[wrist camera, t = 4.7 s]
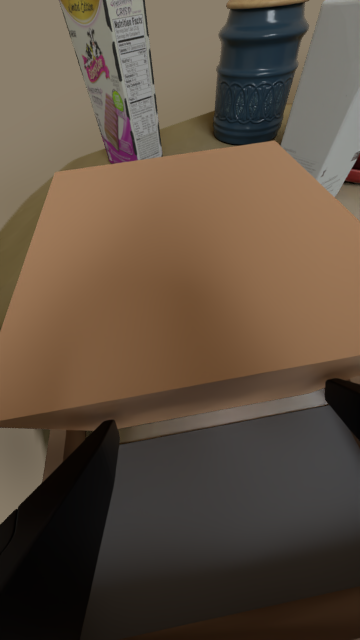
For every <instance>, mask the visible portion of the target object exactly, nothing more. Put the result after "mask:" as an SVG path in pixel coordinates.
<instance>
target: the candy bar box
mask: <svg viewBox="0 0 360 640" xmlns="http://www.w3.org/2000/svg"><path fill="white" fill-rule="evenodd" d="M59 2H60V5H61V8H62V11H63V14H64V18H65V21H66V24H67V28H68V31H69V34H70V37H71V40H72V43H73V47H74V49H75V53H76V56H77V59H78V63H79V66H80V69H81V72H82V75H83V78H84V81H85V85H86V88H87V90H88V94H89V97H90V100H91V103H92V107H93V110H94V113H95V116H96V119H97V122H98V126H99V129H100V132H101V135H102V138H103V142H104V145H105V148H106V152H107V155H108V158H109V161H110V163H112V164H116V163H122V162H129V161H136V160H143V159H150V158H157V157H163V156H162V148H161V139H160V130H159V122H158V112H157V105H156V95H155V86H154V78H153V69H152V62H151V52H150V43H149V34H148V27H147V16H146V8H145V0H59Z"/></svg>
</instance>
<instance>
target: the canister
mask: <svg viewBox="0 0 360 640" xmlns="http://www.w3.org/2000/svg"><path fill="white" fill-rule="evenodd" d="M306 1H309V0H229V1H228V3H227V5H226V7H227V8H228V9H230V12H229V16H228V19H227V22H226V24H225V26H224V27H223V28H222V30H220V32H219V38H220V41H221V44H222V47H221V56H220V62H219V65H218V66H217V69H216V71H217V86H216V101H215V114H214V118H213V120H214V122H213V128H214V136H215V137H216V138H217V139H219V140H220V141H223V142H226V143H230V144H236V145H248V144H255V143H261V142H267V141H269V140H271V139H273V138H274V137H275V136H276V135H277V133H278V130H279V128H280V126H281V124H282V120H283V113H284V110H285V106H286V102H287V98H288V95H289V92H290V88H291V85H292V81H293V77H294V74H295V71H296V69H297V67H298V61H297V56H298V51H299V47H300V42H301V39H302V37H303V36H304V35H305V33H306V32H307V31H308V29H309V25H308V23H307V21H306V19H305V17H304V7H305V2H306Z"/></svg>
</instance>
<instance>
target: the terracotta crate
mask: <svg viewBox="0 0 360 640" xmlns="http://www.w3.org/2000/svg"><path fill="white" fill-rule="evenodd" d="M357 376H360V221H359V220H358V219H357V218H356V217H355V216H354V215H353V214H351V213H350V212H349V211H348V210H347V209H346V208H345V207H344V206H343V205H342V204H341V203H340V202H339V201H338V200H337V199H336V198H335V197H334V196H333V195H332V194H330V193H329V192H328V191H327V190H326V189H325V188H324V187H323V186H322V185H321V184H320V183H319V182H318V181H317V180H316V179H315V178H314V177H313V176H312V175H311V174H309V173H308V172H307V171H306V170H305V169H304V168H303V167H302V166H301V165H300V164H299V163H298V162H297V161H296V160H295V159H294V158H293V157H292V156H291V155H290V154H289V153H287V152H286V151H285V150H284V149H283V148H282V147H281V146H280V145H279V144H278V143H277V142H276V141H268V142H261V143H255V144H248V145H241V146H234V147H227V148H220V149H213V150H206V151H199V152H192V153H185V154H178V155H171V156H164V157H157V158H150V159H143V160H136V161H129V162H122V163H116V164H109V165H102V166H95V167H88V168H81V169H74V170H67V171H60V172H55V174H54V177H53V180H52V183H51V186H50V189H49V191H48V194H47V197H46V200H45V203H44V206H43V209H42V212H41V215H40V218H39V221H38V223H37V226H36V229H35V232H34V235H33V238H32V241H31V244H30V247H29V250H28V253H27V256H26V258H25V261H24V264H23V267H22V270H21V273H20V276H19V279H18V282H17V285H16V288H15V291H14V293H13V296H12V299H11V302H10V305H9V308H8V311H7V314H6V317H5V320H4V323H3V325H2V328H1V331H0V428H25V429H55V430H85V431H94V430H95V429H96V428H97V427H98V426H99V425H100V424H101V423H102V422H103V421H105V420H111V419H113V420H115V422H116V425H117V429H121V428H126V427H132V426H137V425H142V424H148V423H153V422H158V421H164V420H169V419H174V418H180V417H185V416H190V415H196V414H201V413H207V412H212V411H217V410H223V409H228V408H233V407H239V406H244V405H249V404H255V403H260V402H265V401H271V400H276V399H282V398H287V397H292V396H298V395H303V394H308V393H311V392H314V391H317V390H320V389H323V388H325V382H326V380H328V379H333V378H339V379H343V380H348V379H351V378H354V377H357Z"/></svg>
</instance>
